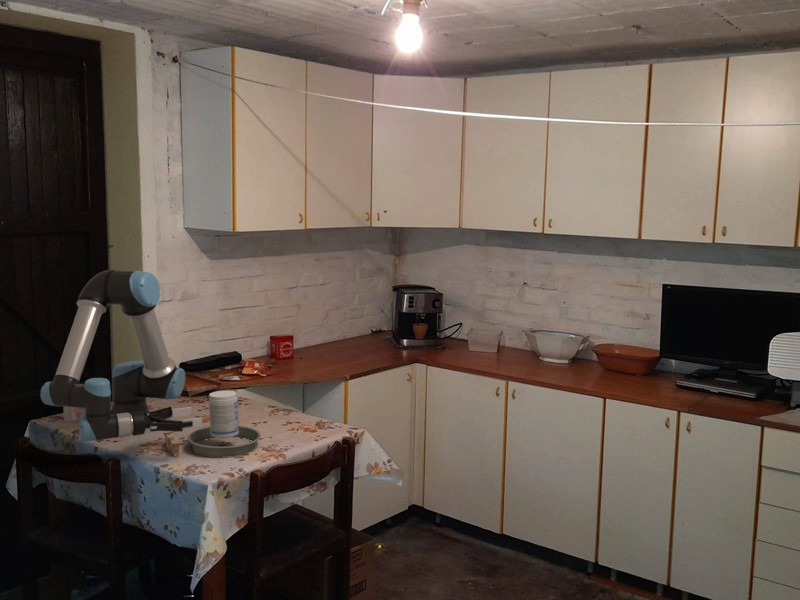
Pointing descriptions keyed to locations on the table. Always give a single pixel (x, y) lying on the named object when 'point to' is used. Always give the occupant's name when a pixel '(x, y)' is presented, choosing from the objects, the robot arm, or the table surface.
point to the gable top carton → (73, 413)
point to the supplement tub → (223, 414)
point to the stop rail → (172, 444)
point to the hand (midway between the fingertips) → (196, 416)
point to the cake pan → (228, 450)
